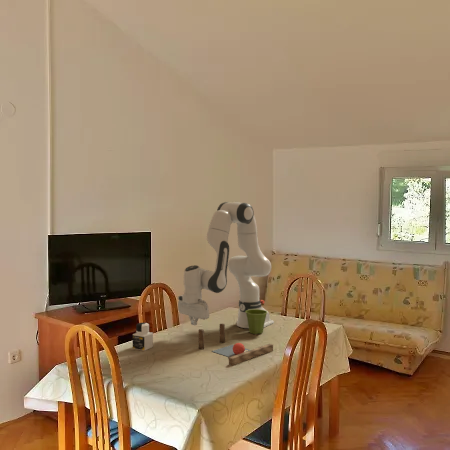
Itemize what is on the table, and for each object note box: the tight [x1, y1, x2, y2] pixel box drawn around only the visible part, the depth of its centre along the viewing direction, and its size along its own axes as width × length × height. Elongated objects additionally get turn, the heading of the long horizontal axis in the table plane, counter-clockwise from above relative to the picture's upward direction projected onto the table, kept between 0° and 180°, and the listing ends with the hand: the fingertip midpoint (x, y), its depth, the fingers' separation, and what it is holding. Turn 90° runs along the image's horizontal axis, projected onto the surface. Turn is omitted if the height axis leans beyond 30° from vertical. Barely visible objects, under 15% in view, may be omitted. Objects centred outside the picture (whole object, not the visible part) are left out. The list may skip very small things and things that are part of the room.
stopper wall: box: [228, 343, 274, 366], centre depth 228 cm, size 28×2×3 cm, turn 136°
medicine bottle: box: [132, 322, 154, 352], centre depth 242 cm, size 7×7×12 cm
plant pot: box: [245, 309, 268, 335], centre depth 268 cm, size 12×12×11 cm
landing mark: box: [211, 344, 251, 358], centre depth 236 cm, size 14×14×1 cm
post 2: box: [219, 323, 226, 344], centre depth 251 cm, size 3×3×9 cm
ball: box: [233, 342, 246, 355], centre depth 231 cm, size 6×6×6 cm
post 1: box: [198, 328, 205, 350], centre depth 241 cm, size 3×3×9 cm
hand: (194, 324), depth 255 cm, fingers closed
